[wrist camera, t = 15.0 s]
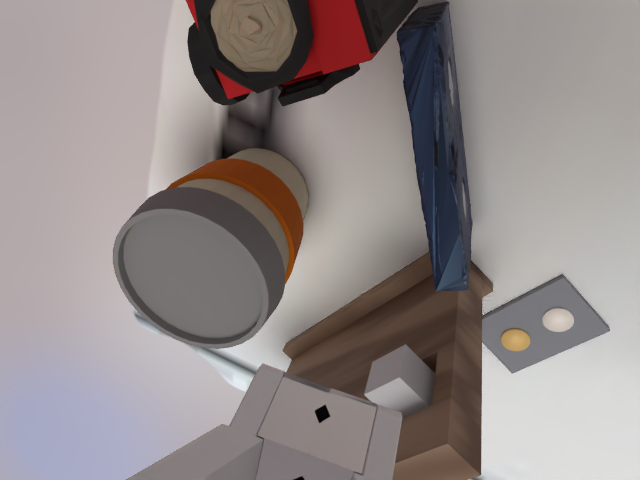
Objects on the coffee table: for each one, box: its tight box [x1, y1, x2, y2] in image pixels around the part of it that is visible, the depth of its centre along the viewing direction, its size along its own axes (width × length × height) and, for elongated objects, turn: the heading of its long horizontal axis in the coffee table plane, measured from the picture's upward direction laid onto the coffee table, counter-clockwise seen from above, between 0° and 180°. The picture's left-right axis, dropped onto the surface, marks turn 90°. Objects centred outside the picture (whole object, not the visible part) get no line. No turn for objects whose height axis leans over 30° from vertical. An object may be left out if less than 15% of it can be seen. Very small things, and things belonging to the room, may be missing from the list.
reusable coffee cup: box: [113, 148, 308, 349], centre depth 43 cm, size 13×12×15 cm
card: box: [482, 275, 610, 373], centre depth 48 cm, size 7×10×1 cm
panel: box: [283, 252, 493, 480], centre depth 44 cm, size 6×23×21 cm, turn 136°
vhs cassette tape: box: [397, 2, 472, 292], centre depth 37 cm, size 18×3×10 cm, turn 12°
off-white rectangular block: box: [364, 344, 435, 418], centre depth 37 cm, size 7×4×4 cm, turn 46°
